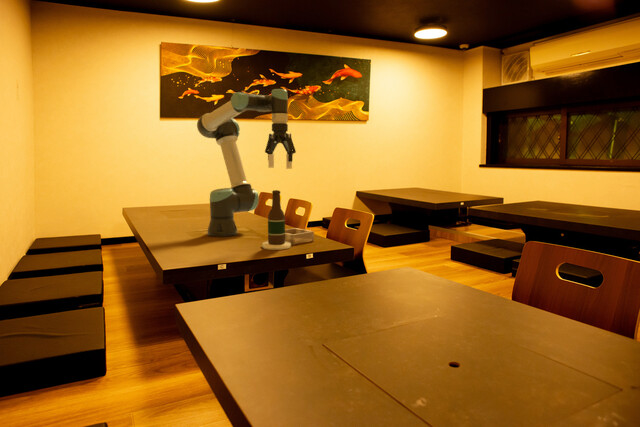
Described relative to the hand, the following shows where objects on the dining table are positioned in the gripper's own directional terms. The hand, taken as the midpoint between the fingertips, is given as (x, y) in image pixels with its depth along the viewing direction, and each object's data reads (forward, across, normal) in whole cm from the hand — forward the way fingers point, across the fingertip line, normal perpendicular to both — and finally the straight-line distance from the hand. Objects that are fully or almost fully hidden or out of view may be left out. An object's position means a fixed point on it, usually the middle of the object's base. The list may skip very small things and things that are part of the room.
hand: (279, 168), depth 211 cm
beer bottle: (+33, +12, -12) cm, 37 cm away
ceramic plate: (+35, +12, -12) cm, 39 cm away
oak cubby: (+35, +7, +3) cm, 36 cm away
